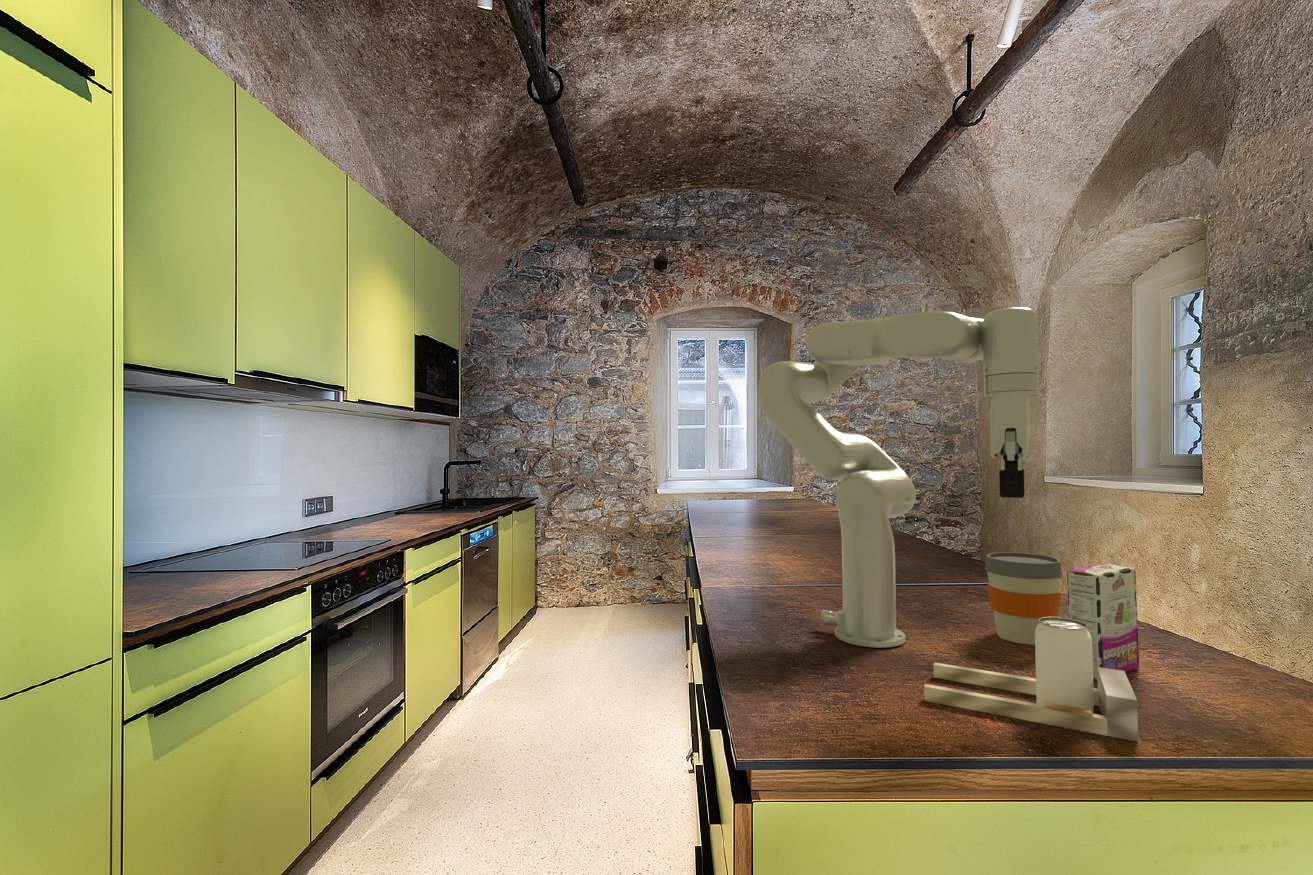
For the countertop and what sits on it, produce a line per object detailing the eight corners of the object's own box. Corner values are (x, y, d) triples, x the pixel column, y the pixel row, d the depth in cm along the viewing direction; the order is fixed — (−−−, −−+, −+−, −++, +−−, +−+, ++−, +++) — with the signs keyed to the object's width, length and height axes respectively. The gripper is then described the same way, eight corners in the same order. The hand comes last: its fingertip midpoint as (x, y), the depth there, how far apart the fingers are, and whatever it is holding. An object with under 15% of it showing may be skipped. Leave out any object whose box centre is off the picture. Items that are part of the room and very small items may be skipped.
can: (1103, 723, 79) (1101, 630, 79) (1048, 719, 80) (1046, 628, 80) (1079, 703, 85) (1077, 617, 85) (1028, 699, 87) (1027, 614, 87)
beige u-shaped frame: (924, 700, 86) (923, 665, 87) (934, 675, 96) (934, 643, 96) (1138, 741, 74) (1137, 700, 74) (1125, 707, 84) (1124, 670, 84)
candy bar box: (1105, 660, 102) (1103, 562, 102) (1140, 670, 98) (1138, 567, 98) (1067, 672, 97) (1065, 569, 97) (1102, 683, 93) (1099, 574, 93)
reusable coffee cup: (984, 641, 113) (982, 559, 113) (988, 624, 124) (986, 550, 124) (1065, 652, 106) (1063, 566, 107) (1062, 633, 117) (1061, 555, 117)
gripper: (986, 392, 106) (988, 491, 106) (980, 384, 91) (982, 498, 91) (1037, 390, 102) (1039, 492, 102) (1039, 380, 87) (1041, 500, 87)
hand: (1012, 495), depth 96 cm, fingers open, 9 cm apart
